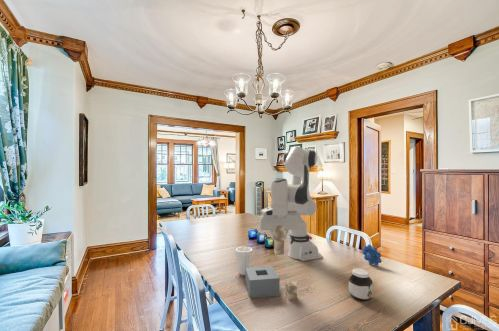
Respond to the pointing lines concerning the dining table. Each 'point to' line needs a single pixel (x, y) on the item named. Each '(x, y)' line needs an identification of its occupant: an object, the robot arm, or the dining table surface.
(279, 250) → the long pin
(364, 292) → the spread jar
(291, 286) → the short pin
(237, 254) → the foam cup
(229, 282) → the dining table surface
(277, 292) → the hole block
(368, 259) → the grapes
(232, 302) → the dining table surface
